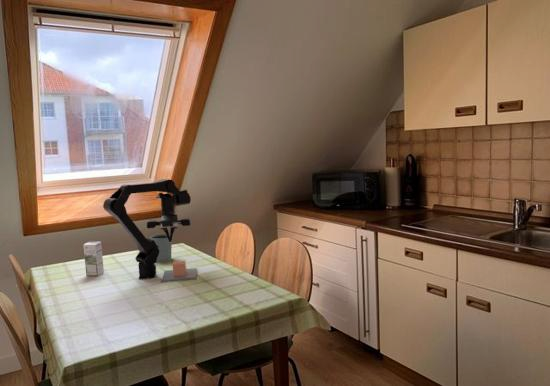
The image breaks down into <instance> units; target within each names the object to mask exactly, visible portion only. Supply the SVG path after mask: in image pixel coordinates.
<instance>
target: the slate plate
mask: <svg viewBox="0 0 550 386" xmlns="http://www.w3.org/2000/svg"><path fill="white" fill-rule="evenodd" d="M197 271H198V268H197V267H193V268H186V275H182V276H173V269H169V270H164V272H163V275H162V278H161V283H169V282H168V281H170V282H178V281H177V280H182V281H190V280H189V279H194V280H197V273H198V272H197Z"/></svg>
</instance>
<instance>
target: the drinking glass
mask: <svg viewBox="0 0 550 386" xmlns="http://www.w3.org/2000/svg"><path fill="white" fill-rule="evenodd" d="M149 239H151V240H154V241H155V243H156V245H157V246H159V247H158V249H159V251H160V252H159V255H158V257H157V261H156V263H157V262H162V263H167V262H166V261H168V262H170V261H172V250H173V249H172V246H173V245H172V243H173V241H171V242H169V240H168V237H167V235H166V233H165V234H155V235H152V236H150V238H149Z"/></svg>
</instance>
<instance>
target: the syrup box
mask: <svg viewBox="0 0 550 386" xmlns="http://www.w3.org/2000/svg"><path fill="white" fill-rule="evenodd" d="M82 248H83V252H84V253H83V254H84V265H85V274H86V277H99V276H100V275H102V274H104V273H105V268H104V259H103V258H104V257H103V247H102V241H87V242H85V243H84V244H83V247H82Z"/></svg>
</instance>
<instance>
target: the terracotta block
mask: <svg viewBox="0 0 550 386" xmlns="http://www.w3.org/2000/svg"><path fill="white" fill-rule="evenodd" d="M186 265H187V264H186V260H178V261H173V262H172V270H173V276H182V275H186V269H187V268H186V267H187V266H186Z"/></svg>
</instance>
